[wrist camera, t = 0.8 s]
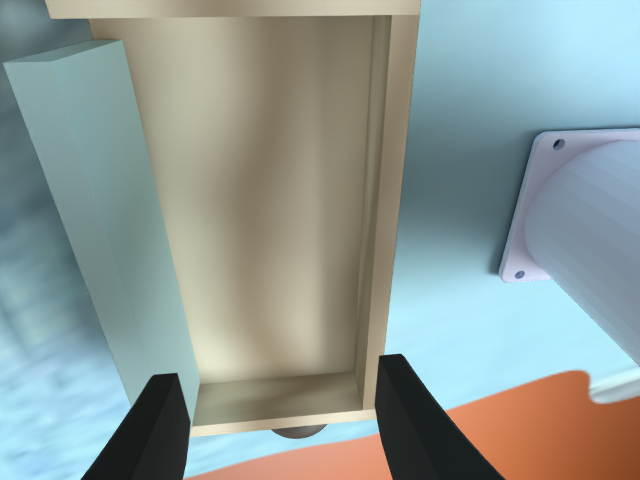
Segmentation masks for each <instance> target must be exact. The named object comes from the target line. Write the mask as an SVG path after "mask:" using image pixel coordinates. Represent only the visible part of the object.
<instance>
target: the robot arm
mask: <svg viewBox="0 0 640 480" xmlns="http://www.w3.org/2000/svg"><path fill="white" fill-rule="evenodd" d="M558 139H560V142H559V144H558V145H557V146H556V147H553V145H554V143H555V142H556V141H557V140H558ZM518 271H520V272H519V273H518V274H516V273H517V272H518ZM498 275H499V277H500V278H501V280H502V281H504V282H507V283H509V282H524V281H538V280H552V279H553V280H554V281H555V282H556V283H557V284H558V285H559V286H560V287H561V288H562V289H563V290H564V291H565V292H566V293H567V294H568V295H569V296H570V297H571V298H572V299H573V300H574V301H575V302H576V303H577V304H578V305H579V306H580V307H581V308H582V309H583V310H584V311H585V312H586V313H587V314H588V315H589V316H590V317H591V318H592V319H593V320H594V321H595V322H596V323H597V324H598V325H599V326H600V327H601V328H602V329H603V330H604V331H605V332H606V333H607V334H608V335H609V336H610V337H611V338H612V339H613V340H614V341H615V342H616V343H617V344H618V345H619V346H620V347H621V348H622V349H623V350H624V351H625V352H626V353H627V354H628V355H629V356H630V357H631V358H632V359H633V360H634V361H635V362H636V363H637V364H638V366H639V367H640V128H629V129H602V130H576V131H549V132H543V133H541V134H539V135H538V136H537V137H536V138H535V140H534V142H533V145H532V149H531V153H530V157H529V160H528V164H527V168H526V172H525V175H524V179H523V183H522V187H521V190H520V194H519V198H518V202H517V205H516V209H515V213H514V216H513V220H512V224H511V228H510V231H509V235H508V239H507V243H506V246H505V250H504V254H503V258H502V261H501V265H500V269H499V274H498ZM374 406H375V411H376V416H377V422H378V427H379V432H380V436H381V442H382V445H383V449H384V451H385V455H386V459H387V462H388V465H389V469H390V472H391V475H392V479H393V480H506V479H505V478H504V477H503V476H501V474H499V472H498V471H496V469H495V468H494V467H493V466H492V465H491V464H490V463H489V462H488V461H487V460H486V459H485V458H484V457H483V455H481V453H480V452H479V451H478V450H477V449H476V448H475V447H474V445H473V444H472V443H471V442H470V441H469V440H468V439H467V438H466V437H465V435H464V434H463V433H462V432H461V431H460V430H459V428H458V427H457V426H456V425H455V423H454V422H453V421H452V420H451V419H450V417H449V416H448V415H447V414H446V412H445V411H444V410H443V409H442V407H441V406H440V405H439V404H438V402H437V401H436V400H435V399H434V397H433V396H432V395H431V393H430V392H429V391H428V389H427V388H426V387H425V385H424V384H423V383H422V381H421V380H420V378H419V377H418V376H417V374H416V373H415V371H414V370H413V369H412V367H411V366H410V364H409V363H408V361H407V360H406V358H405V357H404V356H403V355H402V354H392V355H380V356H379V361H378V372H377V382H376V393H375V403H374ZM190 424H191V421H190V418H189V414H188V410H187V406H186V403H185V399H184V395H183V391H182V388H181V384H180V380H179V376H178V373H167V374H155V375H153V376H152V377H151V378H150V379H149V381H148V382H147V384H146V385H145V387H144V389H143V390H142V392H141V393H140V395H139V397H138V398H137V400H136V401H135V403H134V404H133V406H132V407H131V409H130V411H129V412H128V414H127V415H126V417H125V418H124V420H123V421H122V423H121V424H120V426H119V427H118V429H117V430H116V431H115V433H114V434H113V436H112V437H111V439H110V440H109V441H108V443H107V444H106V446H105V447H104V449H103V450H102V451H101V453H100V454H99V456H98V457H97V458H96V460H95V461H94V463H93V464H92V465H91V467H90V468H89V469H88V470H87V472H86V473H85V474H84V476H83V477H82V478H81V480H183V475H184V471H185V466H186V460H187V452H188V443H189V434H190Z"/></svg>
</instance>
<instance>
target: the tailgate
mask: <svg viewBox="0 0 640 480" xmlns="http://www.w3.org/2000/svg"><path fill="white" fill-rule="evenodd" d="M3 66H4V68H5V71H6V74H7V76H8V79H9V82H10V84H11V87H12V90H13V92H14V95H15V98H16V100H17V103H18V106H19V108H20V111H21V114H22V116H23V119H24V122H25V124H26V127H27V130H28V132H29V135H30V138H31V140H32V143H33V146H34V148H35V151H36V154H37V156H38V159H39V162H40V164H41V167H42V170H43V172H44V175H45V178H46V180H47V183H48V186H49V188H50V191H51V194H52V196H53V199H54V202H55V204H56V207H57V210H58V212H59V215H60V218H61V220H62V223H63V226H64V229H65V231H66V234H67V237H68V239H69V242H70V245H71V247H72V250H73V253H74V255H75V258H76V261H77V263H78V266H79V269H80V271H81V274H82V277H83V279H84V282H85V285H86V287H87V290H88V293H89V295H90V298H91V301H92V303H93V306H94V309H95V311H96V314H97V317H98V319H99V322H100V325H101V327H102V330H103V333H104V335H105V338H106V341H107V343H108V346H109V349H110V351H111V354H112V357H113V359H114V362H115V365H116V367H117V370H118V373H119V375H120V378H121V381H122V383H123V386H124V389H125V391H126V394H127V397H128V399H129V402H130V405H131V407H132V406H133V404H134V403H135V401H136V400H137V398H138V397H139V395H140V393H141V392H142V390H143V389H144V387H145V385H146V384H147V382H148V381H149V379H150V378H151V377H152V376H153V375H155V374H167V373H178V376H179V380H180V384H181V388H182V391H183V395H184V399H185V403H186V406H187V410H188V414H189V418H190V421H191V424H190V434H191V428H192V423H193V417H194V412H195V406H196V401H197V395H198V390H199V384H200V377H199V372H198V368H197V364H196V359H195V355H194V351H193V346H192V342H191V338H190V333H189V329H188V324H187V320H186V316H185V311H184V307H183V303H182V298H181V294H180V289H179V285H178V281H177V276H176V272H175V268H174V263H173V259H172V255H171V250H170V246H169V241H168V237H167V233H166V228H165V224H164V220H163V215H162V211H161V206H160V202H159V198H158V193H157V189H156V185H155V180H154V176H153V172H152V167H151V163H150V158H149V154H148V150H147V145H146V141H145V137H144V132H143V128H142V123H141V119H140V115H139V110H138V106H137V102H136V97H135V93H134V89H133V84H132V80H131V75H130V71H129V67H128V62H127V58H126V54H125V49H124V45H123V40H89V41H85V42H81V43H77V44H73V45H69V46H65V47H61V48H58V49H54V50H50V51H46V52H42V53H38V54H34V55H30V56H26V57H22V58H18V59H15V60H11V61H7V62H3ZM190 434H189V439H190ZM188 445H189V443H188Z"/></svg>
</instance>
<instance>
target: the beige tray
mask: <svg viewBox="0 0 640 480" xmlns="http://www.w3.org/2000/svg"><path fill="white" fill-rule="evenodd" d="M45 2H46V5H47V8H48V12H49V15H50V18H51V19H82V18H88V21H89V25H90V29H91V33H92V37H93V40H123V45H124V49H125V54H126V58H127V62H128V67H129V71H130V75H131V80H132V84H133V89H134V93H135V97H136V102H137V106H138V110H139V115H140V119H141V123H142V128H143V132H144V137H145V141H146V145H147V150H148V154H149V158H150V163H151V167H152V172H153V176H154V180H155V185H156V189H157V193H158V198H159V202H160V206H161V211H162V215H163V220H164V224H165V228H166V233H167V237H168V241H169V246H170V250H171V255H172V259H173V263H174V268H175V272H176V276H177V281H178V285H179V289H180V294H181V298H182V303H183V307H184V311H185V316H186V320H187V324H188V329H189V333H190V338H191V342H192V346H193V351H194V355H195V359H196V364H197V368H198V372H199V377H200V384H199V390H198V395H197V401H196V406H195V412H194V417H193V423H192V428H191V434H190V437H198V436H208V435H218V434H228V433H238V432H249V431H259V430H269V429H271V430H272V431H273V432H275V433H276V434H278V435H280V436H283V437H286V438H292V439H300V438H306V437H309V436H312V435H314V434H316V433H318V432H319V431H321V430H322V429H323V428H324V427H325V426H326V425H327V424H330V423H340V422H351V421H361V420H371V419H377V416H376V411H375V406H374V403H375V393H376V382H377V372H378V361H379V356H380V355H384V351H385V341H386V332H387V322H388V313H389V303H390V293H391V284H392V274H393V265H394V255H395V246H396V236H397V227H398V217H399V208H400V198H401V189H402V179H403V169H404V160H405V150H406V141H407V131H408V122H409V112H410V103H411V93H412V84H413V74H414V65H415V55H416V45H417V36H418V26H419V17H420V7H421V0H45Z"/></svg>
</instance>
